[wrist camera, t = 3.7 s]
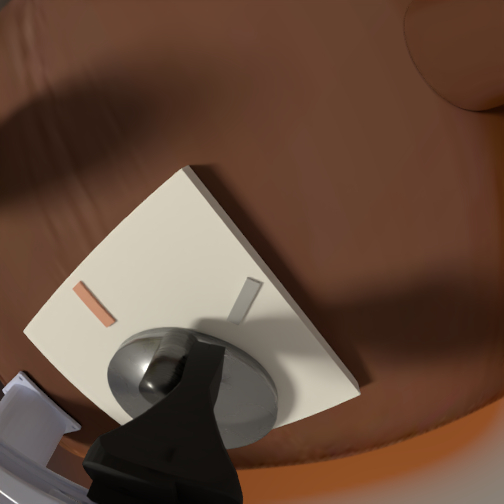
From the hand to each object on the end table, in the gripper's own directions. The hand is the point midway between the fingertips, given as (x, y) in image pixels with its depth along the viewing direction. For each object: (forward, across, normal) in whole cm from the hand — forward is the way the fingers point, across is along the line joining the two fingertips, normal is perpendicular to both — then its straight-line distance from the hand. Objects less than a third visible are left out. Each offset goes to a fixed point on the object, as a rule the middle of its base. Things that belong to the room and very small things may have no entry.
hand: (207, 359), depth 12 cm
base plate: (+3, +3, +4) cm, 6 cm away
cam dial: (+2, +1, +6) cm, 6 cm away
